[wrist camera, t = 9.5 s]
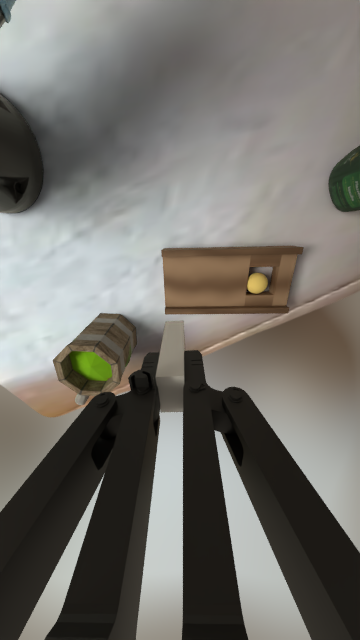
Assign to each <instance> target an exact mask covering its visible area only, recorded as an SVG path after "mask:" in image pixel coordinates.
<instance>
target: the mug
mask: <svg viewBox="0 0 360 640" xmlns="http://www.w3.org/2000/svg"><path fill="white" fill-rule="evenodd" d="M136 345H137V338H136V327H135V326H133V325H132V324H131V323H130V322H129V321H128V320H127V319H126V318H124V317H123V316H122V315H121V314H106V313H100V314H99V315H98V316H97V317H96V318H95V319H94V320H93V321H92V322H91V323H90V324H89V325H88V326H87V327H86V328H85V329H84V330H83V331H82V332H81V333H80V334H79V335H78V336H77V337H76V338H75V339H74V340H73V342H71V343H70V344H68V345H67V346H66V347H65V348H64V349H63V350H62V351H61V352H60V353H59V354H58V355H57V356H56V357H55V358H54V359H53V363H54V366H55V370H56V373H57V376H58V380H59V381H60V382H61V383H63V384H64V385H66V386H67V387H69V388H70V389H72V390H73V391H75V392H76V393H78V394H77V396H76V398H75V402H76V403H77V404H78V405H84V404H85V402H86V401H87V399H88V398H89V396H96V395H98V394H100V393H103V392H110V391H111V390H113V389H114V388H115V387H116V386H118V385H119V384H120V381H121V377H122V374H123V372H124V370H125V368H126V366H127V364H128V363H129V361H130V357H131V354H132V351H133V349H134V348H135V346H136Z"/></svg>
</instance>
